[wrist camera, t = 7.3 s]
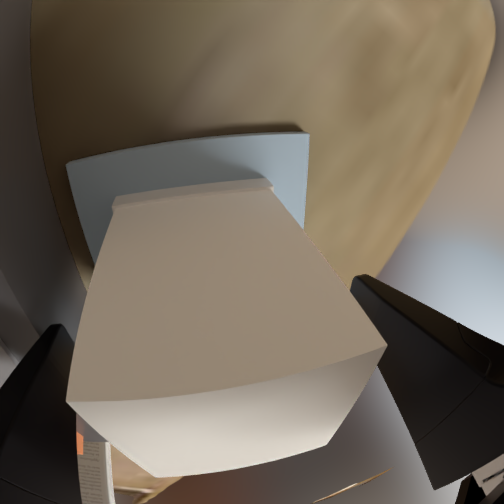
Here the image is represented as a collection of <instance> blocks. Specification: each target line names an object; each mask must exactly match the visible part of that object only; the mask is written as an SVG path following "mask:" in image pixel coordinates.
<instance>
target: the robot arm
mask: <svg viewBox="0 0 504 504" xmlns="http://www.w3.org/2000/svg"><path fill="white" fill-rule="evenodd" d="M350 292H351V294H352V295H353V296H354V298H355V299H356V301H357V302H358V303H359V305H360V306H361V308H362V309H363V310H364V312H365V313H366V315H367V316H368V317H369V319H370V320H371V322H372V323H373V325H374V326H375V327H376V329H377V330H378V332H379V333H380V335H381V336H382V338H383V339H384V341H385V342H386V343H387V347H386V349H385V351H384V353H383V355H382V357H381V359H380V361H379V362H378V364H377V366H378V368H379V370H380V372H381V374H382V376H383V378H384V380H385V382H386V384H387V386H388V388H389V390H390V392H391V394H392V396H393V398H394V400H395V403H396V404H397V407H398V408H399V411H400V413H401V415H402V417H403V419H404V422H405V424H406V426H407V428H408V430H409V433H410V435H411V437H412V439H413V441H414V443H415V446H416V449H417V451H418V453H419V456H420V458H421V460H422V463H423V465H424V467H425V470H426V472H427V475H428V477H429V480H430V482H431V485H432V487H433V489H434V490H437V489H439V488H441V487H443V486H446V485H448V484H450V483H452V482H454V481H456V480H458V479H460V478H462V477H464V476H466V475H468V474H470V473H471V474H470V475H469V476H467V477H466V478H465V479H464V480H463V481H462V482H461V485H460V489H459V492H458V496H457V499H456V502H455V504H504V345H502V344H500V343H498V342H495V341H493V340H491V339H489V338H487V337H485V336H483V335H481V334H479V333H477V332H475V331H473V330H471V329H469V328H467V327H466V326H464V325H462V324H460V323H457V322H456V321H454V320H453V319H451V318H449V317H447V316H445V315H443V314H442V313H440V312H438V311H436V310H434V309H432V308H431V307H429V306H427V305H425V304H423V303H421V302H419V301H417V300H416V299H414V298H412V297H410V296H408V295H406V294H404V293H402V292H400V291H398V290H396V289H394V288H392V287H390V286H389V285H387V284H385V283H383V282H381V281H379V280H377V279H375V278H373V277H371V276H369V275H367V274H363V275H358V276H355V277H354V278H353V280H352V284H351V288H350ZM74 347H75V343H74V341H73V339H72V338H71V336H70V334H69V333H68V331H67V329H66V328H65V326H64V325H63V324H61V323H59V324H51V325H50V326H49V327H48V328H47V329H46V330H45V331H44V333H43V334H42V335H41V336H40V337H39V339H38V340H37V341H36V342H35V343H34V345H33V346H32V347H31V348H30V350H29V351H28V352H27V353H26V355H25V356H24V357H23V358H22V360H21V361H20V362H19V364H18V365H17V366H16V368H15V369H14V370H13V371H12V373H11V374H10V375H9V377H8V378H7V380H6V381H5V382H4V384H3V385H2V386H1V388H0V504H82V498H81V490H80V481H79V471H78V457H77V431H76V411H75V410H74V409H73V408H72V407H71V406H70V405H69V404H68V403H67V402H66V396H67V388H68V381H69V375H70V369H71V363H72V357H73V352H74Z"/></svg>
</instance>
